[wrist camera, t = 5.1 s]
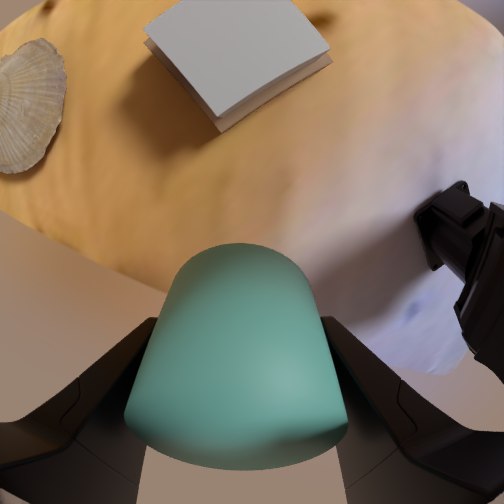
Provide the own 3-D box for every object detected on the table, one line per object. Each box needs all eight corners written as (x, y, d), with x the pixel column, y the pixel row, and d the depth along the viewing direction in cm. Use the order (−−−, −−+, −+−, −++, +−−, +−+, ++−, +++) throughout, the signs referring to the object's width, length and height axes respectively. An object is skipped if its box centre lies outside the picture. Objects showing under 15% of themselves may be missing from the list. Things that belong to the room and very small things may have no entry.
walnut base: (321, 70, 15) (333, 61, 12) (226, 131, 17) (221, 133, 14) (251, -8, 12) (251, -27, 9) (158, 52, 14) (143, 42, 11)
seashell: (78, 158, 17) (57, 165, 14) (-1, 176, 17) (-20, 185, 14) (82, 26, 12) (63, 18, 9) (-2, 70, 11) (-21, 70, 9)
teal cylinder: (335, 317, 10) (374, 437, 5) (229, 369, 11) (223, 476, 6) (258, 211, 8) (267, 344, 3) (142, 293, 9) (87, 411, 5)
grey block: (316, 60, 12) (331, 48, 10) (223, 117, 14) (217, 116, 11) (251, -14, 10) (250, -37, 7) (160, 42, 11) (142, 28, 9)
